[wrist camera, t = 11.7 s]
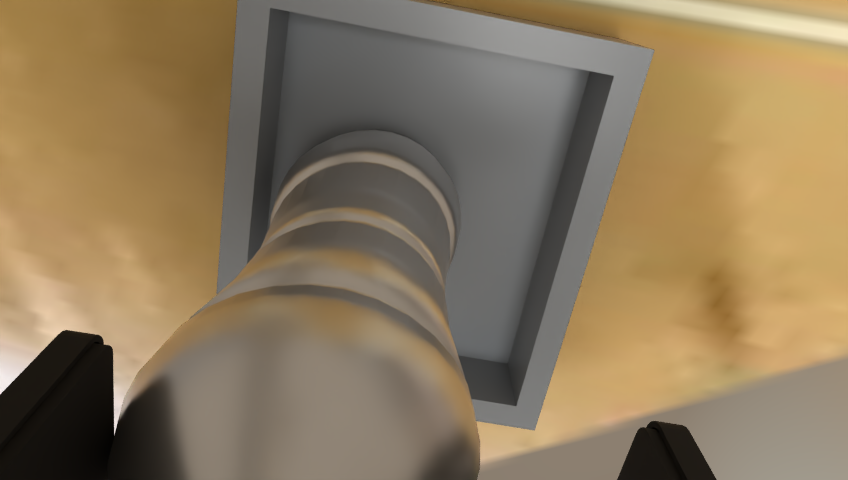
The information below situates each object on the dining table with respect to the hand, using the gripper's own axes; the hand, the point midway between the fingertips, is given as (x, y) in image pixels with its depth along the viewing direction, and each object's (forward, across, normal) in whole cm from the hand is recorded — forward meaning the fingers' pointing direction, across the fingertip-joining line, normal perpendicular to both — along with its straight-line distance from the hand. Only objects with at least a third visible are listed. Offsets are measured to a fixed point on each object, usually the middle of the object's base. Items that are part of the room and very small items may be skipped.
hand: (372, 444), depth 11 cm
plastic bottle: (+15, +1, +1) cm, 15 cm away
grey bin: (+16, -1, +1) cm, 16 cm away
